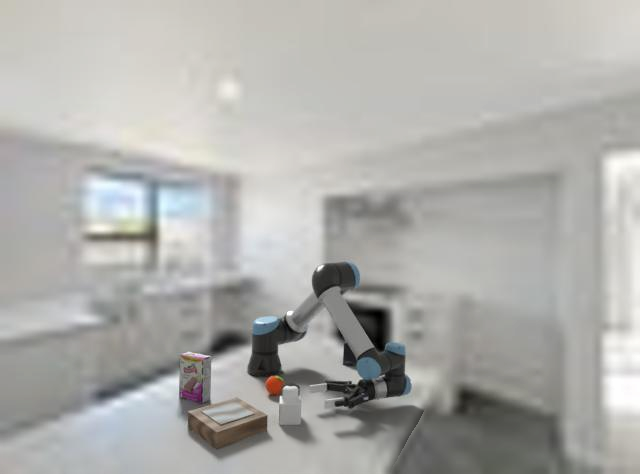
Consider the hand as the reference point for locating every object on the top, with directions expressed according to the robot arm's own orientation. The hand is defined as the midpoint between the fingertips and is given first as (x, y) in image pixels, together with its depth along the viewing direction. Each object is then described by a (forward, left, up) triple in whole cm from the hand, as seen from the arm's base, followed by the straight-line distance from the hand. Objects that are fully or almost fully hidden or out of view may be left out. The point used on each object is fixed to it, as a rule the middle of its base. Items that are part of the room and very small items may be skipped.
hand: (316, 396), depth 149 cm
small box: (-33, +53, -7) cm, 63 cm away
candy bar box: (-39, -25, -7) cm, 47 cm away
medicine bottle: (-3, -9, -7) cm, 12 cm away
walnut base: (-11, -28, -7) cm, 31 cm away
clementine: (-24, +1, -7) cm, 25 cm away
